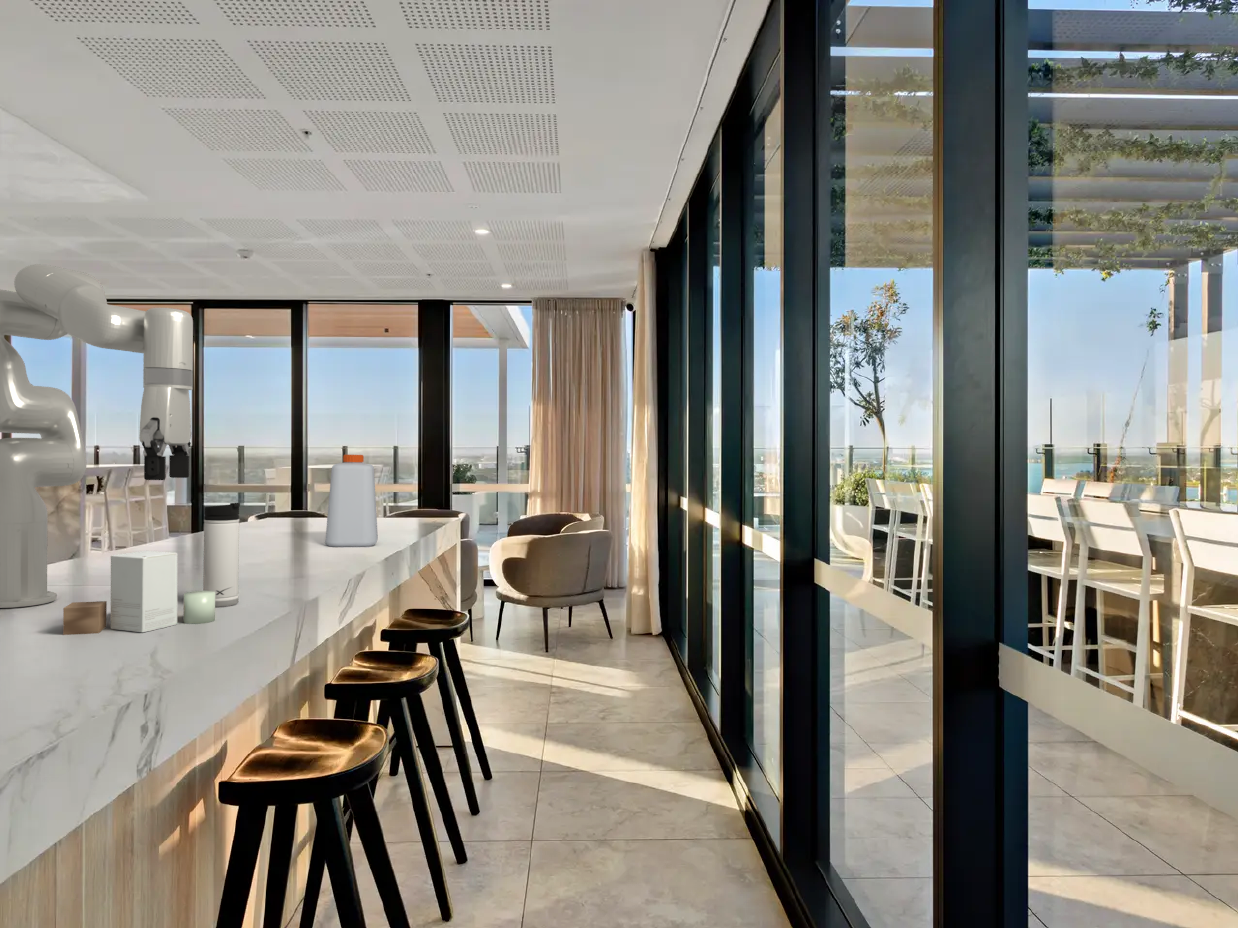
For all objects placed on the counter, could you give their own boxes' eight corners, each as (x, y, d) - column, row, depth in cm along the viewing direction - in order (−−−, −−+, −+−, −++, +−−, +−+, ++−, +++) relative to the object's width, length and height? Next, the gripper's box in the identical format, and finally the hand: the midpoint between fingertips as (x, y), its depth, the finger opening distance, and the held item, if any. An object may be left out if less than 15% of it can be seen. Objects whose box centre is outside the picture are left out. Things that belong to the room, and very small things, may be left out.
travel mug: (225, 608, 157) (227, 504, 157) (195, 606, 159) (196, 502, 158) (246, 602, 163) (248, 501, 163) (217, 600, 165) (218, 500, 164)
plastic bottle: (329, 541, 262) (330, 453, 262) (378, 541, 266) (379, 454, 265) (323, 547, 248) (325, 454, 247) (376, 547, 251) (377, 455, 251)
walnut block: (63, 635, 134) (63, 608, 134) (72, 628, 139) (72, 602, 139) (98, 633, 136) (98, 606, 136) (106, 627, 140) (106, 601, 140)
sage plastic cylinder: (178, 624, 144) (178, 595, 143) (190, 617, 149) (191, 590, 148) (207, 624, 144) (208, 595, 144) (219, 618, 149) (219, 590, 149)
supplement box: (178, 624, 143) (179, 552, 143) (141, 633, 136) (142, 557, 136) (146, 620, 145) (147, 549, 145) (108, 629, 138) (109, 554, 138)
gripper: (167, 383, 151) (166, 476, 152) (120, 375, 134) (120, 480, 134) (209, 384, 152) (209, 477, 153) (169, 377, 135) (168, 481, 135)
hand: (167, 478), depth 143 cm, fingers open, 9 cm apart
